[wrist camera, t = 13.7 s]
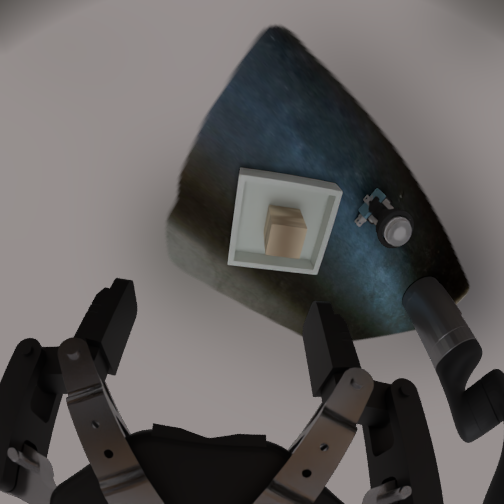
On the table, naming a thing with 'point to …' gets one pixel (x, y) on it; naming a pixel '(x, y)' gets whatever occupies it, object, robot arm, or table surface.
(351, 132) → the table surface
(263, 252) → the tray
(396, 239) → the push button
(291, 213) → the pine block
